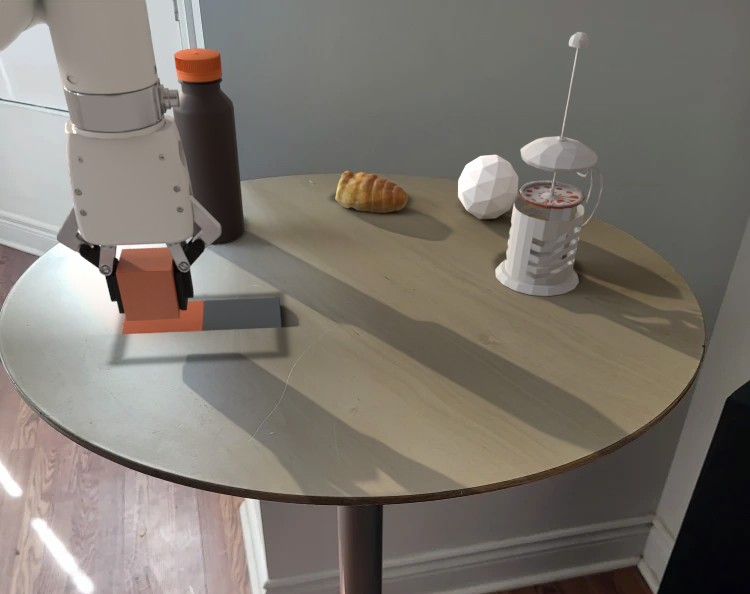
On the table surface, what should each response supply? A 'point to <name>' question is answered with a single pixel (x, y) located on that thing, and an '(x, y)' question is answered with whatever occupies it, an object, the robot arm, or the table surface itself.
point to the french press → (531, 258)
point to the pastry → (369, 193)
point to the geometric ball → (488, 187)
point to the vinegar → (209, 140)
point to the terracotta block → (147, 284)
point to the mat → (215, 317)
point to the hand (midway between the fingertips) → (154, 303)
